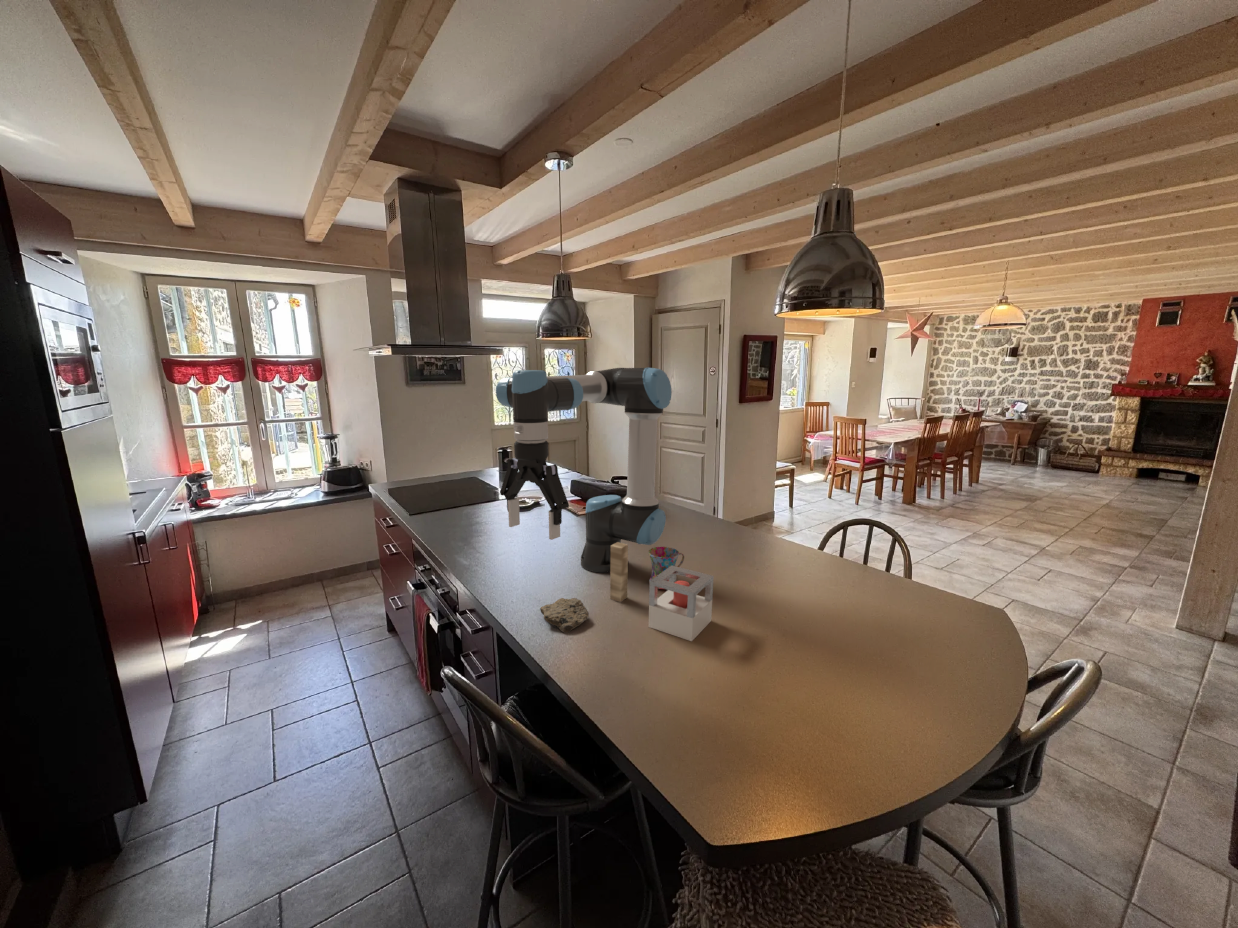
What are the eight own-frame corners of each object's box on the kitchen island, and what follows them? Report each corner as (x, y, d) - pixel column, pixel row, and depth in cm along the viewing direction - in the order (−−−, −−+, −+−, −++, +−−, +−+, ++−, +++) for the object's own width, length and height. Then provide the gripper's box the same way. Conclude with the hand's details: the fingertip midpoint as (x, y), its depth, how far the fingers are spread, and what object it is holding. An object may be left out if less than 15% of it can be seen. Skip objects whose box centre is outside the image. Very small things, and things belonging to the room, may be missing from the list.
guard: (671, 587, 134) (671, 565, 132) (712, 599, 127) (713, 575, 126) (649, 604, 124) (649, 580, 123) (692, 618, 117) (693, 593, 116)
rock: (550, 637, 120) (550, 620, 119) (538, 615, 131) (537, 600, 130) (592, 627, 125) (592, 611, 124) (577, 607, 135) (577, 592, 134)
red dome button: (677, 605, 129) (678, 579, 127) (691, 610, 127) (692, 582, 125) (670, 612, 125) (671, 584, 124) (684, 616, 123) (685, 588, 122)
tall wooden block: (616, 594, 143) (617, 542, 140) (627, 597, 141) (627, 544, 138) (610, 598, 140) (610, 545, 137) (620, 602, 138) (621, 548, 135)
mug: (657, 594, 143) (658, 559, 141) (642, 582, 151) (642, 549, 149) (691, 586, 148) (693, 553, 146) (674, 575, 157) (675, 543, 154)
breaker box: (670, 608, 135) (671, 587, 134) (711, 620, 128) (712, 599, 127) (648, 626, 125) (649, 604, 124) (691, 641, 119) (692, 618, 117)
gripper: (482, 437, 114) (486, 524, 118) (559, 448, 99) (561, 548, 103) (507, 433, 120) (511, 517, 124) (584, 444, 105) (585, 538, 109)
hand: (533, 531), depth 113 cm, fingers open, 13 cm apart
